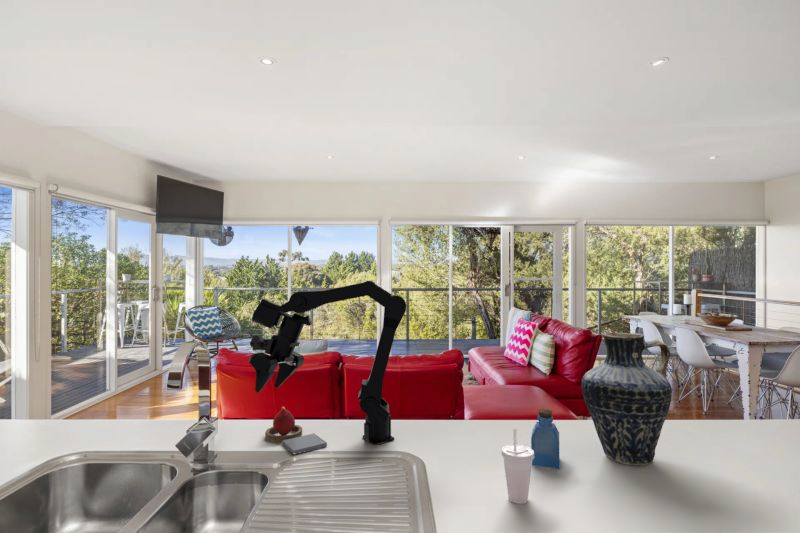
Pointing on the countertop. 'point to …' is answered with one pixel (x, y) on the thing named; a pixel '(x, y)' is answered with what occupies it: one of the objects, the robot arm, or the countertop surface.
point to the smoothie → (517, 470)
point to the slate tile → (304, 443)
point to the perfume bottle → (545, 441)
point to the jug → (628, 398)
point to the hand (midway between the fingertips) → (266, 389)
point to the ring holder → (280, 438)
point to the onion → (284, 422)
